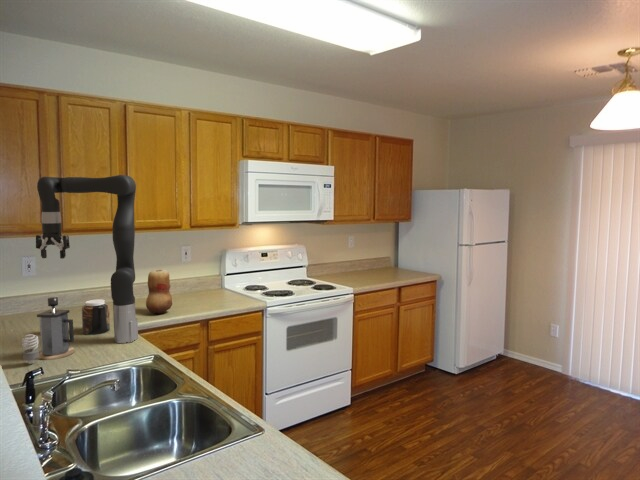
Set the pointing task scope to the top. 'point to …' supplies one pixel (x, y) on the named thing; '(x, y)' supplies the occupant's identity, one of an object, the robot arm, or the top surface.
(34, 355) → the light bulb
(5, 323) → the top surface
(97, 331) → the jar
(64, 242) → the robot arm
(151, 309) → the butternut squash
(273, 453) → the top surface
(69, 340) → the carafe
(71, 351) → the disc
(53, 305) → the plunger
